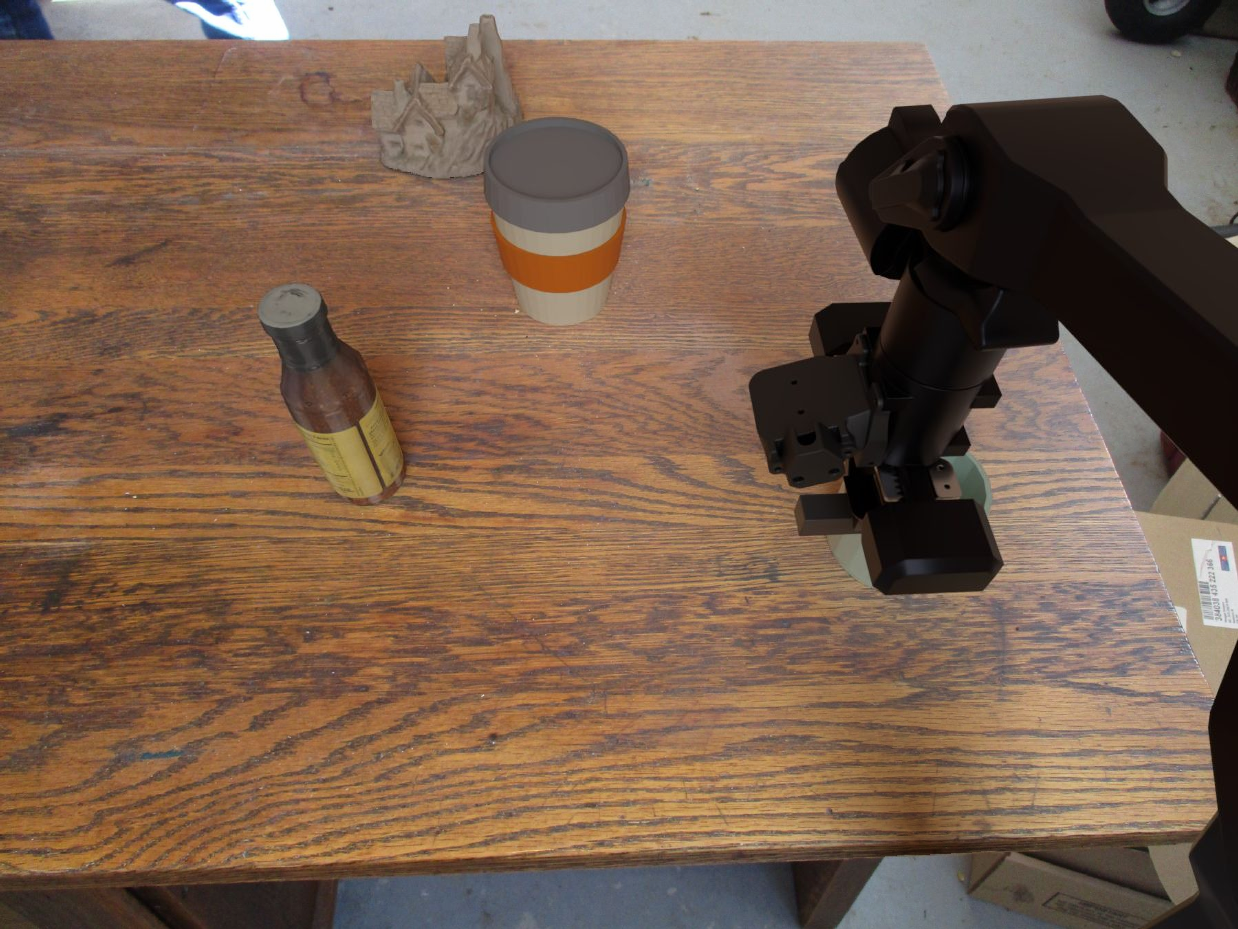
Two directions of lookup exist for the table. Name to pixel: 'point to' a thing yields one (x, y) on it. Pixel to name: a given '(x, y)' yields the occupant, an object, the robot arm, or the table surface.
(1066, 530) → the table surface
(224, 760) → the table surface
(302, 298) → the sauce bottle
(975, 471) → the cup
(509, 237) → the reusable coffee cup
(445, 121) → the ceramic cottage
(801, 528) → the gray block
